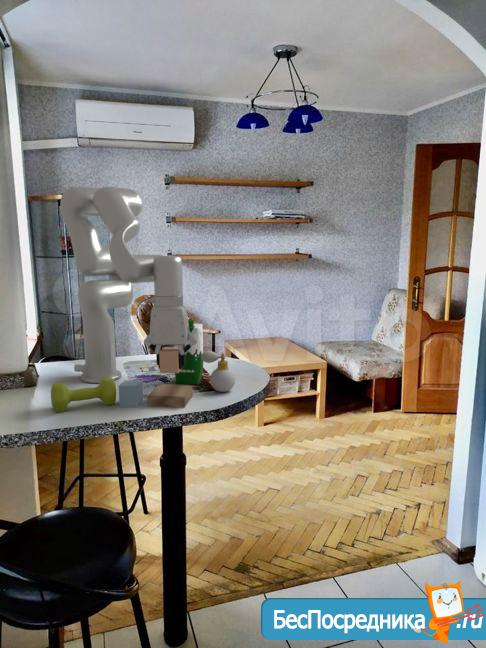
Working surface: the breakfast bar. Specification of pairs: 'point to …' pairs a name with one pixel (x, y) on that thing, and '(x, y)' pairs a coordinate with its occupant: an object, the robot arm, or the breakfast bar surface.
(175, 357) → the terracotta block
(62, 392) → the dumbbell
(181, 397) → the walnut base
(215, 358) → the perfume bottle
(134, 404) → the slate block
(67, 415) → the breakfast bar surface
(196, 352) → the milk carton
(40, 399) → the breakfast bar surface
